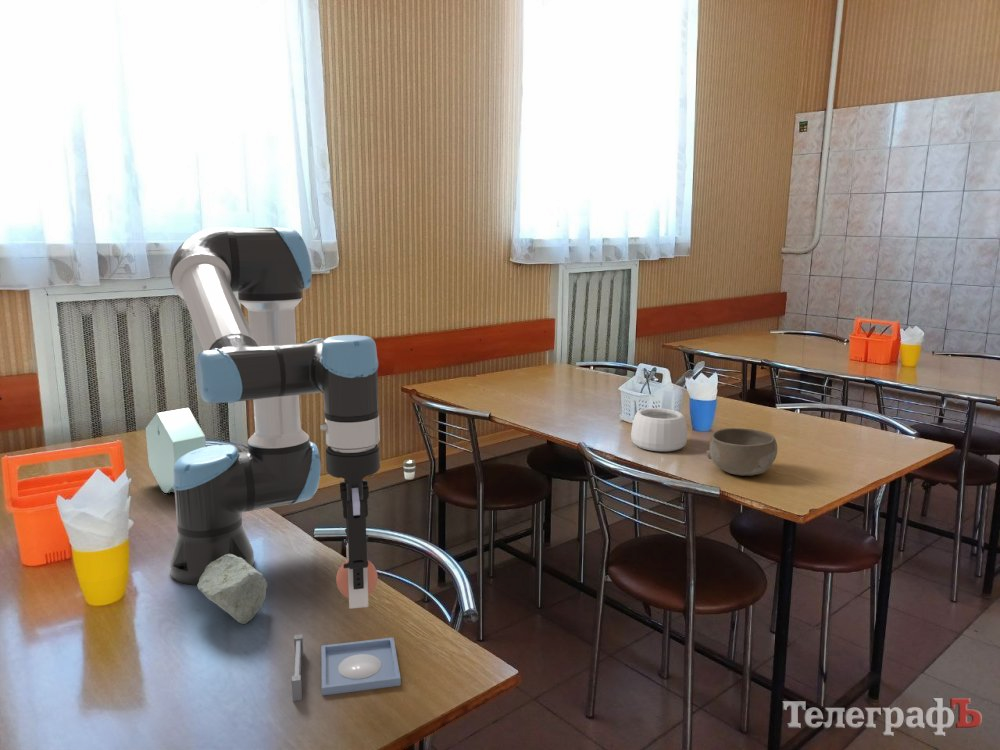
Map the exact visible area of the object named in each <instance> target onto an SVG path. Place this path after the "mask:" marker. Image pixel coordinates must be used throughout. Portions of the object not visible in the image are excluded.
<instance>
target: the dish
mask: <svg viewBox="0 0 1000 750" xmlns="http://www.w3.org/2000/svg"><path fill="white" fill-rule="evenodd" d="M394 639H395V638H394V637H385V638H375V639H368V640H359V641H350V642H343V643H342V642H341V643H333V644H332V643H331V644H324V645H321V649H320V650H321V652H320V653H321V696H327V695H329V696H330V695H334V694H335V695H336V694H343V693H352V692H359V691H368V690H376V689H384V688H391V687H400V686H401V685H402V684H401V683H402V682H401V673H400V668H399V667H400V666H399V662H398V655H397V650H396V644H395V640H394Z"/></svg>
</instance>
